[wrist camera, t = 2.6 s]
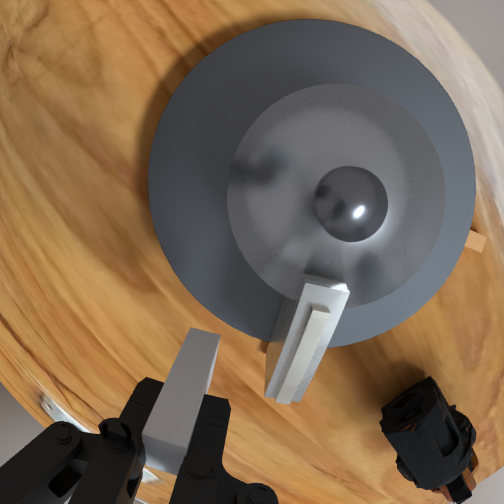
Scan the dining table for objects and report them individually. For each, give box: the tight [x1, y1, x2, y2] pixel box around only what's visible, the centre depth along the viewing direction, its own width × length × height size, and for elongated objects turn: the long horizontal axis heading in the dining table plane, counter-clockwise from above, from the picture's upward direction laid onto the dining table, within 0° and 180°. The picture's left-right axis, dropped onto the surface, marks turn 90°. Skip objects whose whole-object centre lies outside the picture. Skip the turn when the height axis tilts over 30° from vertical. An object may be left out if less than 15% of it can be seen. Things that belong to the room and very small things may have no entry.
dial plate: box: [148, 19, 487, 348], centre depth 16 cm, size 22×22×2 cm
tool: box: [379, 376, 479, 504], centre depth 19 cm, size 8×23×15 cm, turn 41°
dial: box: [227, 84, 445, 404], centre depth 13 cm, size 16×10×4 cm, turn 167°
